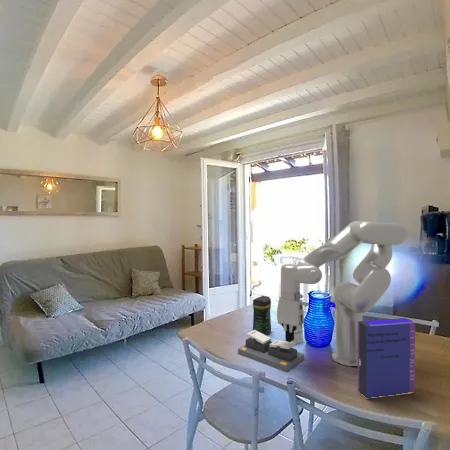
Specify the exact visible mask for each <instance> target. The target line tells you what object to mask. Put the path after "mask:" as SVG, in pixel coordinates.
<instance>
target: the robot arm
mask: <svg viewBox="0 0 450 450" xmlns="http://www.w3.org/2000/svg"><path fill="white" fill-rule="evenodd" d="M407 240H408V229H407V228H406V226H405V225H403V224H401V223H399V222H378V221H368V220H367V221H366V220H356V221H355V220H354V221H352V222H349V224H348V225H346V226H345V227H344V228H343V229H342V230H340V231H339V232H338V233H337V234H336V235H335V236H333V237H332V238H331V239H329V241H328V242H326V243H324V244H322V245H321V246H319V247H317V248H315V249H313V250H312V251H310V252H309V253H308V254H306V255H305V256H304V257H303V258H301V259H300V260H299V261H298V263H297V264H294V263H285V264H282V265H281V267H280V296H279V298H278V302H277V309H276V319H277V324H278V325H281V326H282V328H283V331H284V333H285V335H284V336H285V341H287V342H291V341H293V339H294V331H295V330H296V329H297V330H301V329H302V328H303V327H302V324H303V325H304V323H305V313H304V310H305V309H304V304H303V301H302V299H303V297H304V295H303V294H301V284H304V285H305V284H306V285H316V284H318V283H319V282H321V280H322V278H323V272H322V270H321V269H320V267H321V266H323V265H325V264H327V263H331V262H334V261H339V260H343V259H344V258H345V257H346V256H347V255H348V254H349V253H351V252H352V251H353V250H355V248H357V247H358V246H359V245H360V244H370V245H371V246H370V250H369V251H368V253H367V254H366V255H365V256H364V258H363V259H362V260H361V261H360V262H359V263H358V265H357V266H356V267H355V268H354V270H353V272H352V277H353V279H354V281H355V282H356V283H358V285H357V284H354V283H352V282H349V281H343V282H340V283H338V284H337V285H336V287H335V288H334V291H333V292H334V293H333V299H334V305H335V333H336V334H335V335H336V336H335V337H336V338H335V346H336V347H335V351H334V352H333V353H332V354H331V357H332V360H333V361H334V362H336V363H337V364H339V363H340V365H342V366H345V365H346V367H351V366H358V321H362V314H364V313H367V312H369V311H370V310H371V309H372V308H374V306H375V305H376V304H377V303H378V301H380V299H381V298H382V296H383V295H384V294H385V293H386V292H387V290H388V289H389V288H390V284H391V281H392V277H391V273H390V271H389V269H387V266H389V264H390V262H391V261H392V258H393V246H399V245H402V244H404V243H405V242H406V241H407Z"/></svg>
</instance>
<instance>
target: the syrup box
mask: <svg viewBox="0 0 450 450" xmlns="http://www.w3.org/2000/svg"><path fill="white" fill-rule="evenodd" d="M303 325H304V323H303V324H302V327H303ZM303 333H304V330H303V328H302V329H301V330H297V329H296V330H295V331H294V339H293V341H291V342H296V345H297V344H299V343H303V342H304V338H303V336H304V335H303Z"/></svg>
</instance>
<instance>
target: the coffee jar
mask: <svg viewBox="0 0 450 450" xmlns="http://www.w3.org/2000/svg"><path fill="white" fill-rule="evenodd" d="M271 307H272V299H271V298H270V296H267V295H260V296H258V297H256V298H254V299H253V300H252V308H253V319H252V331H253V330H256V331H258V332H260V333H262V334H265V335H266V336H268V335H269V334H271V332H272V323H271V321H272V319H271V318H272V317H271Z"/></svg>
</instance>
